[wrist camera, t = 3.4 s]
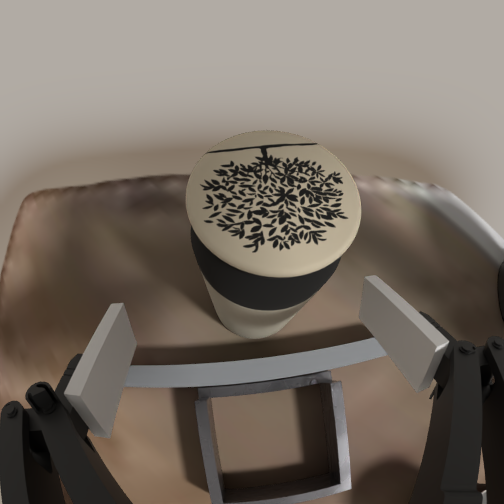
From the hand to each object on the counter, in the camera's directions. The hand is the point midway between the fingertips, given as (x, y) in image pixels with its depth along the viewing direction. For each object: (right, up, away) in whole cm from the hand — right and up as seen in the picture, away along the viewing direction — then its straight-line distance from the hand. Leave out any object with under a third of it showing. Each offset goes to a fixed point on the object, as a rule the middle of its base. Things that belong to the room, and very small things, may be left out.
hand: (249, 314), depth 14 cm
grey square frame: (+2, -15, +8) cm, 17 cm away
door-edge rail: (0, -8, +10) cm, 13 cm away
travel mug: (0, -2, +14) cm, 14 cm away
